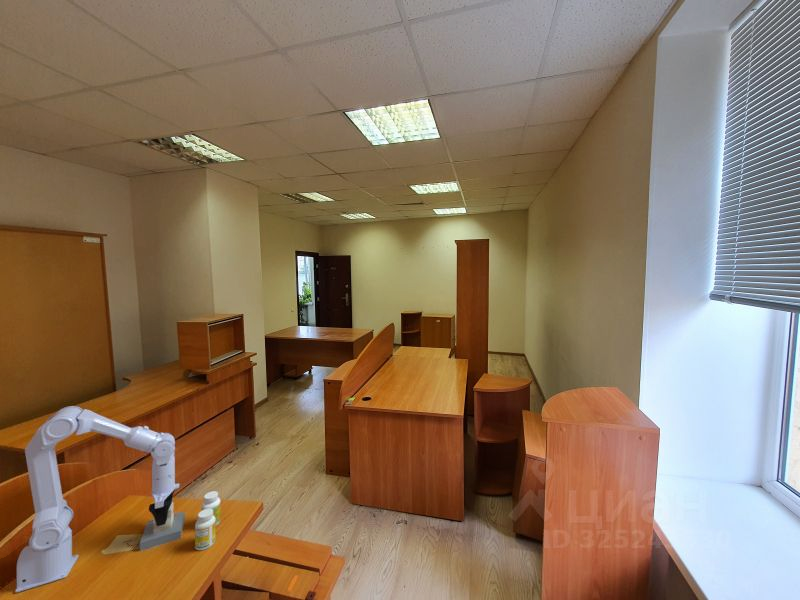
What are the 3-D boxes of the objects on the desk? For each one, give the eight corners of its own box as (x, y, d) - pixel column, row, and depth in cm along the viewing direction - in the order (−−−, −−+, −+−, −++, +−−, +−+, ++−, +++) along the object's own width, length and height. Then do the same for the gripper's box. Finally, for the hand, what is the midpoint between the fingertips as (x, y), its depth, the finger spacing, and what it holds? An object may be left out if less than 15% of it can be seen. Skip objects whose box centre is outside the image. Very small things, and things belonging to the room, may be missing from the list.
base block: (139, 552, 92) (139, 543, 92) (147, 530, 100) (147, 521, 100) (180, 540, 97) (180, 530, 96) (184, 519, 105) (184, 511, 105)
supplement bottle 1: (211, 530, 100) (211, 501, 100) (197, 528, 101) (197, 498, 101) (224, 519, 105) (224, 490, 105) (210, 516, 106) (210, 488, 106)
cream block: (153, 533, 95) (153, 514, 95) (156, 524, 99) (156, 505, 99) (171, 528, 97) (171, 509, 97) (173, 519, 101) (173, 501, 101)
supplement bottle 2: (201, 553, 91) (201, 521, 91) (191, 546, 93) (191, 515, 93) (219, 540, 96) (219, 510, 96) (209, 534, 98) (209, 504, 98)
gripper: (175, 483, 94) (175, 527, 94) (182, 460, 107) (182, 499, 107) (145, 489, 90) (146, 535, 91) (156, 465, 103) (156, 506, 103)
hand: (163, 516), depth 98 cm, fingers open, 7 cm apart
